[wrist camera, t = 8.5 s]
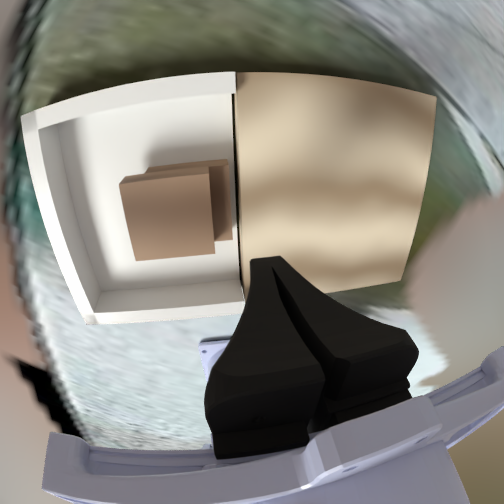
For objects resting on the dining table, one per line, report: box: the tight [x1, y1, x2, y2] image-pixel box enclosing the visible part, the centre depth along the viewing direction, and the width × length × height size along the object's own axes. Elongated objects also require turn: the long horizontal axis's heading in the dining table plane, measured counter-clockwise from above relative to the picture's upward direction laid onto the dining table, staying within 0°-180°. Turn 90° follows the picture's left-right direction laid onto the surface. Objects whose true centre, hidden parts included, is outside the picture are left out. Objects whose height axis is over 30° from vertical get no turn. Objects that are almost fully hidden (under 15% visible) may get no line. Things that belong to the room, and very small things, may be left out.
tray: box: [21, 72, 244, 325], centre depth 17 cm, size 16×13×3 cm
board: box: [234, 72, 437, 303], centre depth 19 cm, size 16×14×2 cm
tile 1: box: [119, 166, 215, 261], centre depth 16 cm, size 5×5×2 cm
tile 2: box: [145, 159, 233, 242], centre depth 18 cm, size 5×5×2 cm
